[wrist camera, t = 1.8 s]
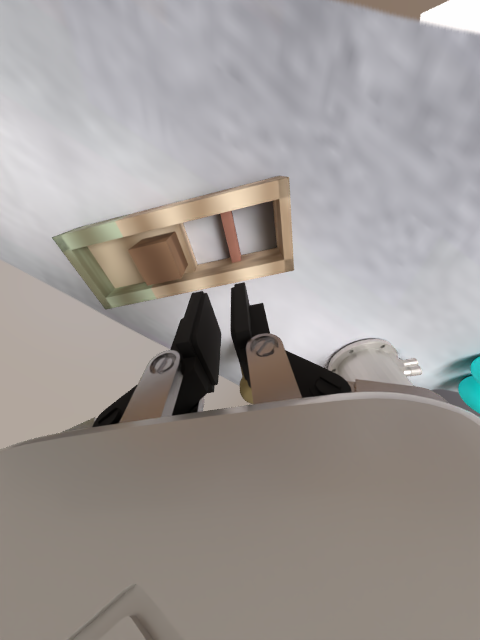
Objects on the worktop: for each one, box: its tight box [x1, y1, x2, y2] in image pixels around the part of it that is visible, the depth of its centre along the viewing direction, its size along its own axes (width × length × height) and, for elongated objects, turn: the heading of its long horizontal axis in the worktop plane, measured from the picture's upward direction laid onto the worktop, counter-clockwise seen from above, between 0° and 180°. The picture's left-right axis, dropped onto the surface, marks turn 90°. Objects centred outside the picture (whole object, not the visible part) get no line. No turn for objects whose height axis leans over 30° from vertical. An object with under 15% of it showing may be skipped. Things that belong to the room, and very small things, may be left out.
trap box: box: [52, 176, 294, 309], centre depth 24 cm, size 24×9×4 cm, turn 102°
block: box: [128, 231, 188, 286], centre depth 22 cm, size 4×4×4 cm
